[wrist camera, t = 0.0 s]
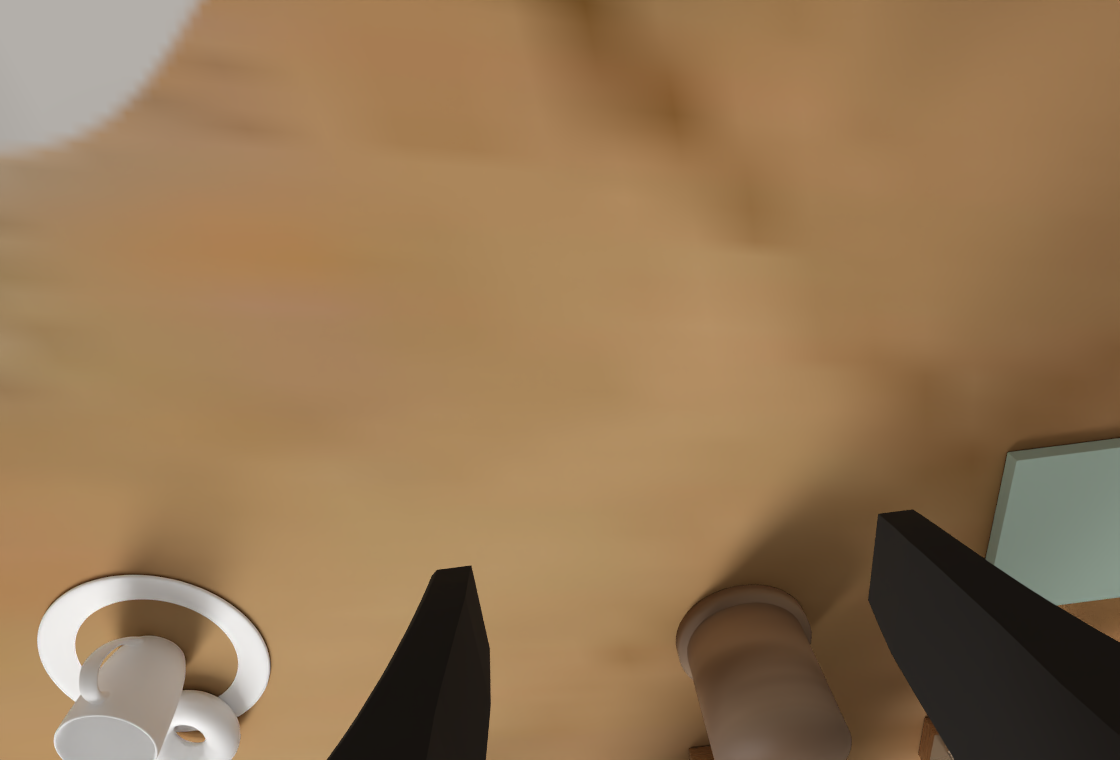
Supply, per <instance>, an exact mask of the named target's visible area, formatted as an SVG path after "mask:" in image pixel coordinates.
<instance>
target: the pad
mask: <svg viewBox="0 0 1120 760" xmlns="http://www.w3.org/2000/svg"><path fill="white" fill-rule="evenodd" d="M986 560H987V561H989V562H990V563H992V564H993V565H994V566H996V567H997V568H999V569H1000V570H1002V571H1003V572H1005V573H1006V574H1008V575H1009V576H1011V577H1012V578H1014V579H1015V580H1017V581H1018V582H1020V583H1022V584H1023V585H1025V586H1026V587H1028V588H1029V589H1031V590H1032V591H1034V592H1035V593H1037V594H1039V595H1040V596H1042V597H1043V598H1045V599H1047V600H1048V601H1050V602H1051V603H1053V604H1055V605H1063V604H1071V603H1079V602H1086V601H1094V600H1102V599H1110V598H1118V597H1120V438H1116V439H1108V440H1100V441H1092V442H1085V443H1077V444H1069V445H1061V446H1053V447H1046V448H1038V449H1030V450H1022V451H1015V452H1008V453H1007V458H1006V463H1005V468H1004V473H1003V477H1002V482H1001V487H1000V492H999V497H998V501H997V506H996V511H995V516H994V521H993V526H992V530H991V535H990V540H989V545H988V550H987V555H986Z"/></svg>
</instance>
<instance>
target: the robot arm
mask: <svg viewBox="0 0 1120 760" xmlns="http://www.w3.org/2000/svg"><path fill="white" fill-rule="evenodd" d="M868 601H869V603H870V605H871V608H872V610H873V613H874V615H875V617H876V620H877V622H878V625H879V627H880V629H881V632H882V634H883V636H884V638H885V640H886V643H887V645H888V647H889V649H890V651H891V654H892V655H893V657H894V659H895V661H896V662H897V664H898V666H899V668H900V669H901V671H902V673H903V674H904V676H905V678H906V679H907V681H908V683H909V685H910V686H911V688H912V690H913V691H914V693H915V695H916V696H917V698H918V700H919V702H920V703H921V705H922V707H923V708H924V710H925V712H926V713H927V715H928V717H929V718H930V720H931V722H932V723H933V725H934V727H935V728H936V730H937V732H938V733H939V735H940V737H941V738H942V740H943V742H944V743H945V745H946V747H947V748H948V750H949V752H950V753H951V755H952V757H953V758H954V760H1120V642H1118V641H1116V640H1114V639H1113V638H1111V637H1109V636H1107V635H1105V634H1104V633H1102V632H1100V631H1098V630H1097V629H1095V628H1093V627H1091V626H1090V625H1088V624H1086V623H1085V622H1083V621H1081V620H1080V619H1078V618H1076V617H1075V616H1073V615H1071V614H1070V613H1068V612H1066V611H1065V610H1063V609H1061V608H1060V607H1058V606H1056V605H1055V604H1053V603H1051V602H1050V601H1048V600H1047V599H1045V598H1043V597H1042V596H1040V595H1039V594H1037V593H1035V592H1034V591H1032V590H1031V589H1029V588H1028V587H1026V586H1025V585H1023V584H1022V583H1020V582H1018V581H1017V580H1015V579H1014V578H1012V577H1011V576H1009V575H1008V574H1006V573H1005V572H1003V571H1002V570H1000V569H999V568H997V567H996V566H994V565H993V564H992V563H990V562H989V561H987V560H986V559H984V558H983V557H981V556H980V555H978V554H977V553H975V552H974V551H973V550H971V549H970V548H968V547H967V546H965V545H964V544H962V543H961V542H960V541H958V540H957V539H955V538H954V537H952V536H951V535H950V534H948V533H947V532H945V531H944V530H942V529H941V528H939V527H938V526H937V525H935V524H934V523H932V522H931V521H929V520H928V519H926V518H925V517H923V516H922V515H920V514H919V513H917V512H916V511H914V510H906V511H898V512H890V513H882V514H878V521H877V529H876V538H875V546H874V555H873V564H872V572H871V581H870V589H869V598H868ZM490 706H491V697H490V648H489V643H488V639H487V634H486V630H485V625H484V621H483V616H482V612H481V607H480V603H479V598H478V594H477V589H476V585H475V580H474V576H473V571H472V566H464V567H456V568H448V569H441V570H437V571H436V572H435V573H434V574H433V575H432V577H431V579H430V581H429V584H428V586H427V589H426V591H425V593H424V595H423V598H422V600H421V602H420V604H419V606H418V608H417V610H416V613H415V615H414V617H413V619H412V621H411V623H410V625H409V627H408V629H407V631H406V633H405V635H404V636H403V638H402V640H401V642H400V644H399V646H398V648H397V649H396V651H395V653H394V655H393V657H392V659H391V660H390V662H389V664H388V666H387V668H386V670H385V671H384V673H383V675H382V676H381V678H380V680H379V681H378V683H377V685H376V686H375V688H374V690H373V691H372V693H371V694H370V696H369V698H368V699H367V701H366V703H365V704H364V706H363V707H362V709H361V711H360V712H359V714H358V716H357V717H356V719H355V720H354V722H353V723H352V725H351V726H350V728H349V729H348V731H347V732H346V734H345V735H344V736H343V738H342V739H341V741H340V742H339V744H338V745H337V746H336V748H335V749H334V751H333V752H332V753H331V755H330V756H329V757H328V759H327V760H486V752H487V740H488V729H489V718H490Z"/></svg>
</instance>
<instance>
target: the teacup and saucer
mask: <svg viewBox="0 0 1120 760" xmlns="http://www.w3.org/2000/svg"><path fill="white" fill-rule="evenodd" d="M137 599H148V600H159V601H165V602H170V603H174V604H178V605H181V606H184V607H186V608H189V609H191V610H194V611H196V612H198V613H200V614H202V615H203V616H205V617H207V618H208V619H210V620H211V621H213V622H214V623H215V624H216V625H218V626H219V627H220V628H221V629H222V630H223V631H224V632H225V633H226V635H227V636H228V637H229V639H230V640H231V642H232V643H233V645H234V647H235V650H236V653H237V657H238V671H237V675H236V677H235V679H234V681H233V683H232V684H231V686H230V687H229V688H228V689H227V690H226V691H225V692H224V693H223V694H222V695H220V696H219V697H216V696H214V695H212V694H210V693H207V692H203V691H198V690H182V689H183V685H184V680H185V673H186V662H185V656H184V653H183V651H182V650H181V649H180V648H179V647H178V646H177V645H176V644H175V643H173V642H172V641H170V640H168V639H165V638H162V637H158V636H140V637H125V638H120V639H116V640H113V641H110V642H108V643H106V644H104V645H102V646H101V647H99V648H98V649H96V650H95V651H94V652H93V653H92V654H91V655H90V656H89V657H88V658H87V659H86V661H85V662H84V664H83V665H82V666H81V665H80V663H79V661H78V658H77V655H76V650H75V639H76V635H77V632H78V629H79V627H80V626H81V624H82V623H83V622H84V620H85V619H86V618H87V617H88V616H90V615H91V614H92V613H94V612H95V611H97V610H98V609H100V608H102V607H104V606H107V605H110V604H113V603H116V602H121V601H126V600H137ZM37 643H38V651H39V655H40V658H41V661H42V664H43V666H44V668H45V670H46V671H47V673H48V675H49V676H50V677H51V679H52V680H53V681H54V683H55V684H56V685H57V686H58V687H59V688H60V689H61V690H62V691H63V692H64V693H65V694H66V695H67V696H69V697H70V698H71V699H72V700H74V701H75V703H74V705H73V706H72V708H71V709H70V711H69V712H68V714H67V715H66V716H65V718H64V719H63V721H62V722H61V724H60V726H59V727H58V729H57V730H56V732H55V735H54V746H55V749H56V751H57V753H58V754H59V756H60V757H61V758H62V759H63V760H231V759H232V758H233V757H234V755H235V754H236V752H237V749H238V747H239V743H240V738H241V733H240V725H239V721H238V719H237V717H238V716H240V715H242V714H243V713H245V712H246V711H247V710H248V709H250V708H251V707H252V706H253V705H254V704H255V703H256V702H257V701H258V699H259V698H260V697H261V695H262V694H263V692H264V690H265V688H266V686H267V683H268V680H269V676H270V658H269V653H268V650H267V647H266V644H265V642H264V640H263V638H262V636H261V635H260V633H259V631H258V630H257V629H256V627H255V626H254V625H253V624H252V622H251V621H250V620H249V619H248V618H247V617H246V616H245V615H244V614H243V613H241V612H240V611H239V610H238V609H237V608H235V607H234V606H233V605H231V604H230V603H228V602H227V601H225V600H224V599H222V598H220V597H219V596H217V595H215V594H213V593H211V592H209V591H207V590H204V589H202V588H200V587H197V586H194V585H191V584H188V583H185V582H182V581H178V580H174V579H169V578H164V577H158V576H149V575H119V576H111V577H105V578H100V579H96V580H93V581H89V582H86V583H84V584H81V585H79V586H77V587H75V588H73V589H71V590H69V591H68V592H66V593H64V594H63V595H62V596H60V597H59V598H58V599H57V600H56V601H55V602H54V603H53V604H52V605H51V606H50V607H49V608H48V610H47V611H46V613H45V614H44V616H43V618H42V620H41V623H40V626H39V630H38V637H37ZM120 645H123V646H122V647H120V648H119V649H118V650H117V651H116V652H115V653H114V654H113V655H112V656H111V657H110V658H109V659H108V660H107V661H106V662H105V663H104V664H103V666H102V667H101V668H100V666H101V663H102V662H103V660H104V659H105V657H106V656H107V655H108V654H109V653H110V652H111V651H112V650H114V649H115V648H117V647H118V646H120ZM99 668H100V669H99ZM197 730H199V731H200V732H202V733H203V735H204V737H205V739H206V740H205V741H204V742H199V743H197V742H190V741H187V740H185V739H183V738H181V737H180V736H179V735H178V734H177V733H176V732H188V731H197Z"/></svg>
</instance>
